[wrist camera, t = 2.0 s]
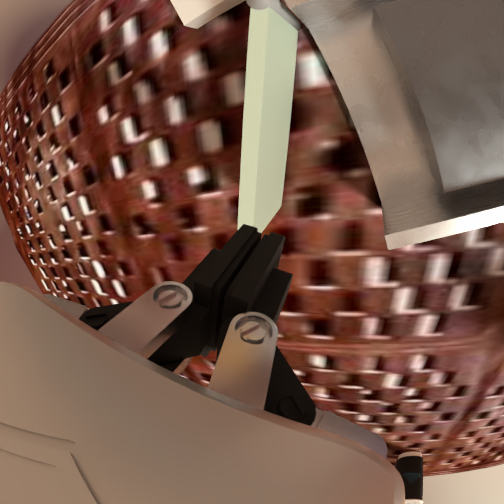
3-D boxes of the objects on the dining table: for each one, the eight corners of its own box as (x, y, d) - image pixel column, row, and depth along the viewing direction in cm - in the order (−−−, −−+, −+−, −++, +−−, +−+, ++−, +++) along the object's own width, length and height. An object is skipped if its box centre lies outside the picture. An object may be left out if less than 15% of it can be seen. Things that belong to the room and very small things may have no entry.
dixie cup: (397, 464, 42) (388, 509, 33) (386, 452, 40) (375, 503, 32) (432, 457, 38) (426, 505, 29) (425, 445, 36) (418, 498, 27)
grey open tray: (481, -17, 8) (511, -42, 3) (543, 170, 13) (584, 198, 8) (304, 21, 16) (280, -5, 11) (384, 209, 21) (388, 249, 16)
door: (301, 17, 16) (273, -13, 10) (283, 206, 24) (253, 248, 19) (283, 16, 16) (247, -12, 10) (267, 203, 25) (233, 243, 19)
